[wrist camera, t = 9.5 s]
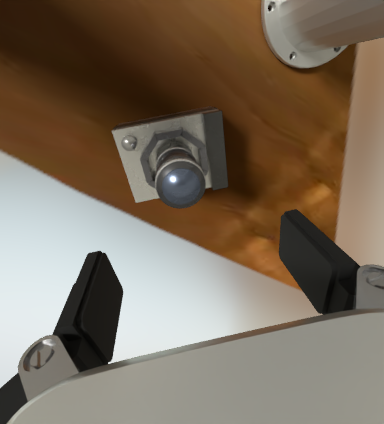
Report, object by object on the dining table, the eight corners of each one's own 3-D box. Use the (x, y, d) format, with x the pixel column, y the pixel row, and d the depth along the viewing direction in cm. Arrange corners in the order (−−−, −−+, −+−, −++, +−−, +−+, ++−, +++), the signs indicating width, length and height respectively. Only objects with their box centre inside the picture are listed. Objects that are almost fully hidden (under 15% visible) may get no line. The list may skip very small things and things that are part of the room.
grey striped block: (210, 105, 28) (225, 111, 22) (217, 171, 33) (231, 191, 27) (118, 123, 28) (107, 134, 22) (138, 187, 33) (134, 211, 26)
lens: (190, 136, 25) (203, 156, 18) (196, 174, 28) (210, 204, 21) (151, 144, 25) (148, 168, 18) (160, 181, 27) (161, 214, 20)
